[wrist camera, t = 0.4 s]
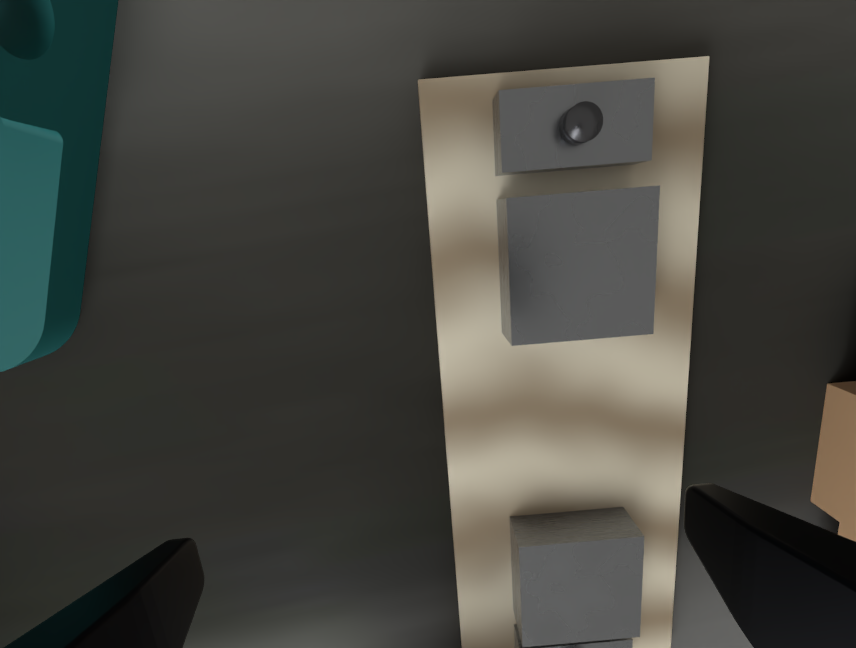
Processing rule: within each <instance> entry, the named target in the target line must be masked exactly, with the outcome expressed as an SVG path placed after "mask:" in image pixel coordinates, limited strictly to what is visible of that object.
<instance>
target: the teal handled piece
mask: <svg viewBox="0 0 856 648" xmlns="http://www.w3.org/2000/svg"><path fill="white" fill-rule="evenodd" d="M117 7H118V0H0V372H2V371H5V370H8V369H10V368H13V367H16V366H18V365H21V364H24V363H26V362H29V361H32V360H34V359H37V358H40V357H42V356H45V355H48V354H50V353H52V352H54V351H55V350H57V349H58V348H60V347H61V346H62V345H63V344H64V343H65V342H66V341H67V340H68V339H69V338H70V337H71V335H72V333H73V332H74V330H75V328H76V326H77V323H78V320H79V316H80V310H81V302H82V294H83V285H84V277H85V269H86V261H87V253H88V244H89V236H90V228H91V220H92V212H93V203H94V195H95V187H96V179H97V171H98V162H99V154H100V146H101V138H102V130H103V122H104V113H105V105H106V97H107V89H108V81H109V72H110V64H111V56H112V48H113V40H114V31H115V23H116V15H117Z"/></svg>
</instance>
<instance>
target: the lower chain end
mask: <svg viewBox="0 0 856 648" xmlns="http://www.w3.org/2000/svg"><path fill="white" fill-rule="evenodd" d="M509 519H510V544H511V568H512V592H513V611H514V615H515V619H516V623H517V624H514V640H515V648H632V647H633V639H632V638H634V637H640V626H641V603H642V581H643V558H644V535H643V534H642V532H641V531H640V529H639V528H638V527H637V525H636V524H635V522H634V521H633V520H632V518H631V517H630V515H629V514H628V513H627V511H626V510H625V508H624V507H614V508H602V509H591V510H579V511H568V512H556V513H544V514H533V515H521V516H510V517H509Z"/></svg>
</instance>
